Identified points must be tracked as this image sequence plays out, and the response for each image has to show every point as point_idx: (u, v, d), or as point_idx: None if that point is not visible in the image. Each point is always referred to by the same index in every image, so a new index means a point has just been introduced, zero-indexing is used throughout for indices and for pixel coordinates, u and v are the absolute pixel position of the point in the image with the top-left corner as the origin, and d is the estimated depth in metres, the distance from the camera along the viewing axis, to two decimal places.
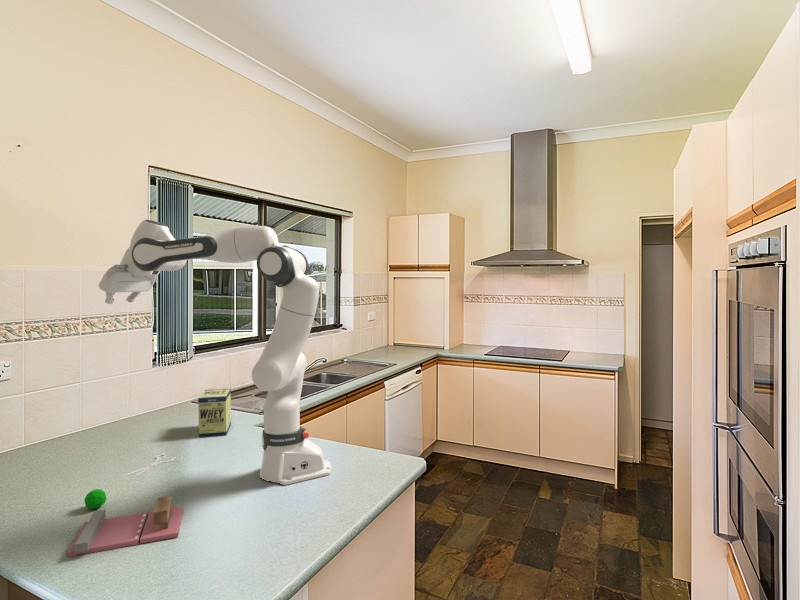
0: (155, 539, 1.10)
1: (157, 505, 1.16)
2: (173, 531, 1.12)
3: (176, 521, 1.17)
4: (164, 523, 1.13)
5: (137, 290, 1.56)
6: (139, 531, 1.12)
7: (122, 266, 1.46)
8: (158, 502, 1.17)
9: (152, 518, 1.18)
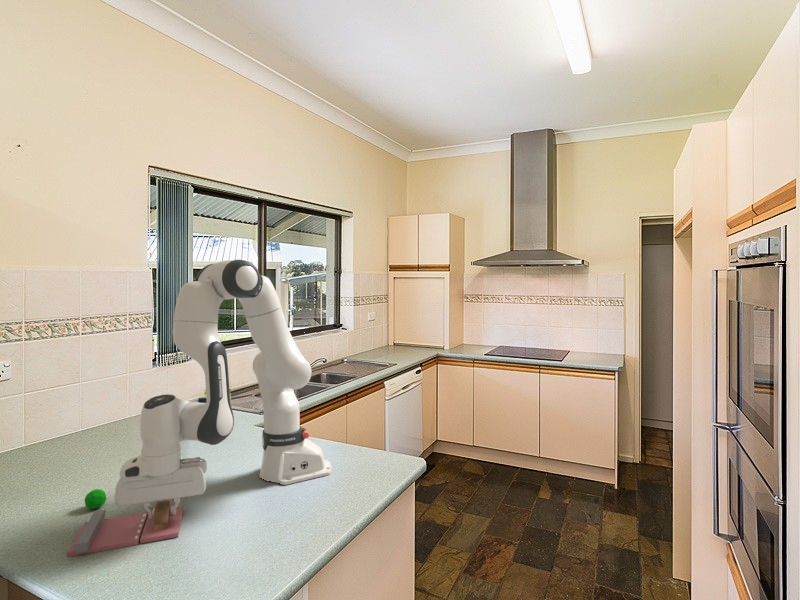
0: (155, 539, 1.10)
1: (157, 505, 1.16)
2: (173, 531, 1.12)
3: (176, 521, 1.17)
4: (164, 523, 1.13)
5: None
6: (139, 531, 1.12)
7: None
8: (158, 502, 1.17)
9: None
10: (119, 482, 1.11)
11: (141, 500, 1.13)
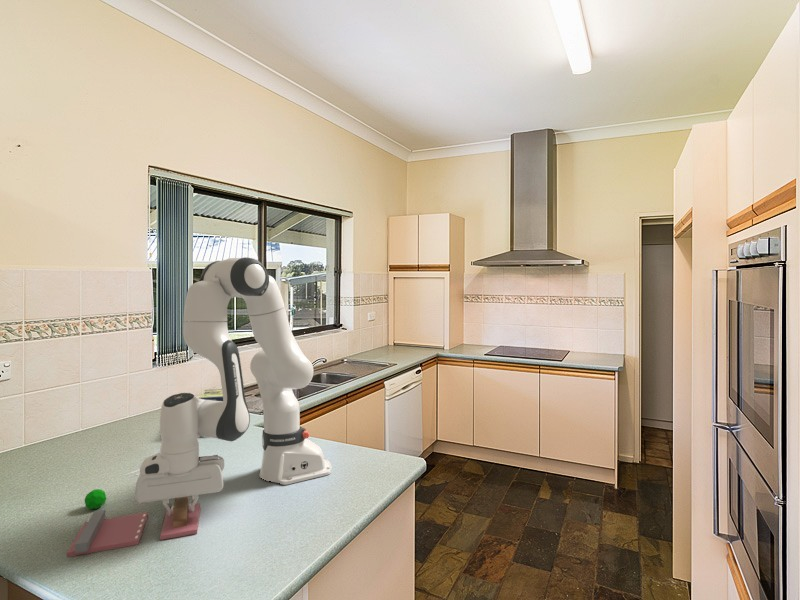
0: (175, 536, 1.11)
1: (176, 502, 1.17)
2: (192, 528, 1.13)
3: (194, 518, 1.18)
4: (183, 519, 1.14)
5: None
6: (139, 531, 1.12)
7: None
8: (176, 499, 1.19)
9: (171, 515, 1.20)
10: (139, 479, 1.12)
11: (160, 497, 1.15)
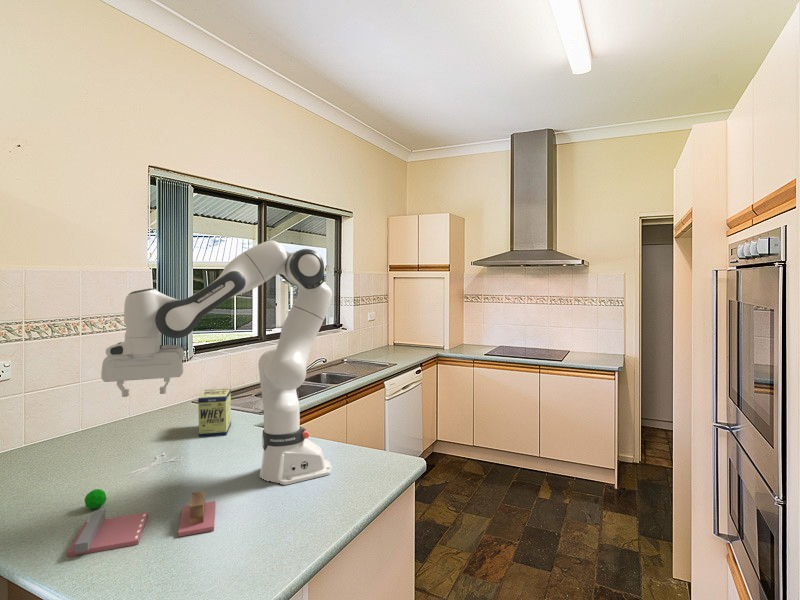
0: (192, 532, 1.12)
1: (192, 500, 1.18)
2: (209, 525, 1.15)
3: (210, 515, 1.19)
4: (200, 517, 1.16)
5: None
6: (139, 531, 1.12)
7: None
8: (193, 497, 1.20)
9: (187, 512, 1.21)
10: (105, 359, 1.26)
11: (125, 377, 1.28)
